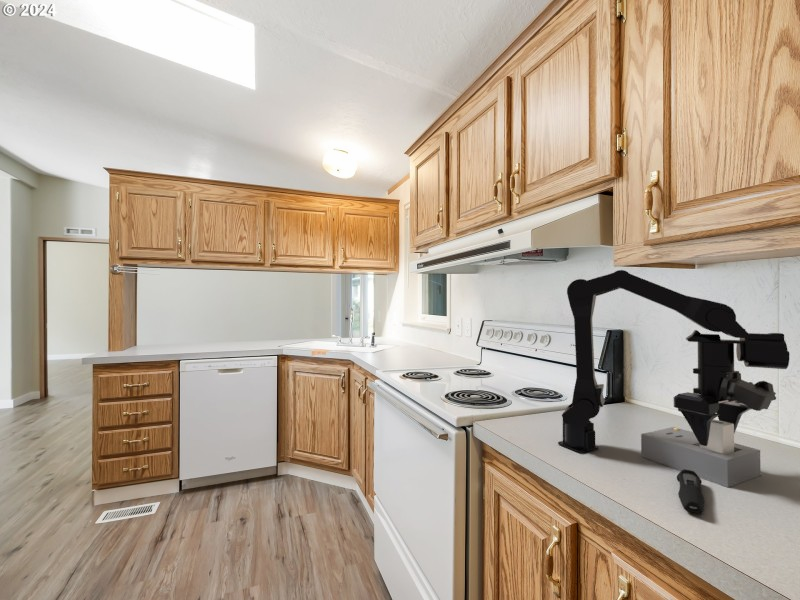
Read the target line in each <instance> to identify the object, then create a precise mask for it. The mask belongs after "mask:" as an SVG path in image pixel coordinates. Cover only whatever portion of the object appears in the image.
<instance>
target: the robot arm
mask: <svg viewBox="0 0 800 600" xmlns="http://www.w3.org/2000/svg"><path fill="white" fill-rule="evenodd" d="M620 289H621V290H625V291H627V292H629V293H632V294H634V295H636V296H639V297H641V298H644V299H646V300H649V301H650V302H653V303H655V304H659V305H660V306H663V307H665V308H668V309H670V310H673V311H675V312H676V313H678V314H679V315H682V316H683V317H685V318H686V319H688V320H689V321H691V322H692V323H694V324H696V325H698V326H700V328H702V329H705V330H708V331H711V332H714V333H715V334H714V333H713V334H712V333H701V332H700V331H699V330H697V329H694V330H693V332H692V333H691V334H690V335H688V336H686V338H685V340H686V341H687V342H693V343H697V367H695V368H692V374H696V375H697V387H694V388H693V389H692V392H688V391H687V392H682V393H678V394H677V395H675V396H674V397H673V407H674V408H676V409H677V411H678V412H681V414H682V415H683V417H684V419H685V421H686V422H687V423H688V425H689V428H690V430H692V431H691V432H693V433H694V434H695V436H696V438H697V440H698V442H699V444H700V445H703V446H707V444H708V439H709V432H710V425H711V421H712V420H713V419H716V418H717V417H718V418H717V420H719V421H724V422H728V423H732V424H734V434H736V431H737V428H738V425H739V423H740V421H741V417H742V415H743V414H745V413H746V412H748V411H750V410H753V411H756V412H757V411H758V412H760V411H762V410H768V409H769V407H770V405H771V403H772V401H775V400H776V399H777V397H776V394H777V393H776V392H775V391H774V384H773V383H771V382H768V381H765V380H759V381H757V382H756V383H754V382H752V381H749V382H748V381H746V380H743V379H742V373H741V372H740V371H739V370H735V351H736V359H737V361H738V362H743V363H744V366H745V367H748V368H761V369H774V370H775V369H777V370H788V367H789V363H790V351H789V350H788V346H787V343H786V340H785V334H784V333H781V332H768V333H760V332H759V333H758V332H757V333H755V332H752V333H751V332H748V331H746V328H744V327H743V326H742V325H741V324H740V323H739V322H738V321H737V315H736V313H735V311H734V309H733V308H732V307H731V306H729V305H727V304H725V303H721V302H718V301H717V302H716V301H712V300H708V299H705V298H704V299H703V298H700V297H694V296H689V295H686V294H682V293H680V292H677V291H675V290H672V289H670V288H667V287H665V286H663V285H660V284H657V283H656V282H655V283H654V282H653V281H649V280H646V279H644V278H642V277H639V276H638V275H637V276H636V275H634V274H633V273H632V274H631V273H630V272H628V271H626V270H623V269H620V270H615V271H614V272H611V273H609V274H604V275H602V276H598V277H594V278H591V279H588V280H587V279H582V278H579V279H574V280H573V281H571V282H570V283H569V285H568V286H567V289H566V295H567V299H568V303H569V307H570V310H571V313H572V316H573V321H574V322H573V323H574V347H575V367H576V369H575V370H576V371H575V373H576V378H575V379H576V380H575V384H574V388H573V392H572V393H573V394H572V395H573V396H572V401H571V403H570V404H569V405H568V406H567V407H566V408H565V410H564V411H563V412H562V414H561V417H562V440H561V441H558V442H557V444H558V445H559V446H561V447H564V448H567V449H569V450H571V451H575V452H576V453H578V454H581V453H588V452H591V451H595V450H599V446H597V445H596V430H595V423H594V422H592V421H591V419H593V418H596V417H597V416H598V414H599V413H600V410H601V408H603V407H604V404H605V402H606V400H605V398H604V387H605V385H604V384H603V383H600V384H599V383H598V381H597V378H596V375H595V373H596V372H595V369H596V368H595V355H594V354H595V352H594V351H595V350H594V329H593V326H594V325H593V315H594V312H595V307H596V300H597V297H598V296H602V295H605V294H607V293H609V292H614V291H616V290H620ZM716 333H723V334H724V335H726V336H730V337H732V338H737V339H721V336H720V334H716ZM735 344H736V346H735ZM735 347H736V349H735Z"/></svg>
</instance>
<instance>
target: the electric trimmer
mask: <svg viewBox="0 0 800 600" xmlns="http://www.w3.org/2000/svg"><path fill="white" fill-rule="evenodd" d="M676 480H677V482H679V491H678V493H677V495H678V498H679V500H680V503H681V506H682V508H683V510H684V511H686V512H689V513H695V514H699V515H703V513H704V511H705V498H704V494H703V492H702V491H703V490H702V487H701V485H702V483H703V482H702V478H700V477H699V476H698V475H697V474H696V473H695V472H694V471H691V470H686V469H684V470H682V471H681V470H680V471H679V472H678V474H677V475H676Z"/></svg>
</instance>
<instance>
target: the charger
mask: <svg viewBox="0 0 800 600" xmlns="http://www.w3.org/2000/svg"><path fill="white" fill-rule="evenodd" d="M734 443H735V433H734V424H732V423H728V422H724V421H719V419H716V418H714V419H713V420H712V421H711V425H710V432H709V439H708V444H707V446H703V445H700V447H702V448H706V449H709V450H712V451H716V452H719V453H723V454H726V455H727V454H730V453H734Z"/></svg>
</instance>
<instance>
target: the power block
mask: <svg viewBox="0 0 800 600" xmlns="http://www.w3.org/2000/svg"><path fill="white" fill-rule="evenodd" d="M640 434H641V435H640V438H641V439H640V441H641V442H640V445H641V449H640V450H641V451H640V453H641V457H642V458H645V459H646V460H650V461H653V462H656V463H657V464H658V463H659V464H662V465H664V466H667V467H670V468H673V469H676V470H679V471H680V472H681V471H682V470H684V469H686V470H691V471H694V472H695V473H696V474H697V475H698V476H699V478H700V479H703V480H706V481H709V482H712V483H714V484H718V485H720V486H723V487H726V488H729V487H732V486H736V485H739V484H741V483H743V482H746V481H748V480H752V479H754V478H757V477H760V476H761V472H762V471H761V449H758V448H753V447H750V446H747V445H744V444H743V445H742V444H739V443H736V442H734V453H730V454H727V455H726V454H723V453H719V452H716V451H712V450H709V449H706V448H702V447H700V444H699V442H698V440H697V438H696V436H695V434H694V433H693V431H690V430H686V429H683V428H679V427H675V426H672V427H668V428H662V429H657V430H653V431H649V432H645V433H640Z"/></svg>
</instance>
